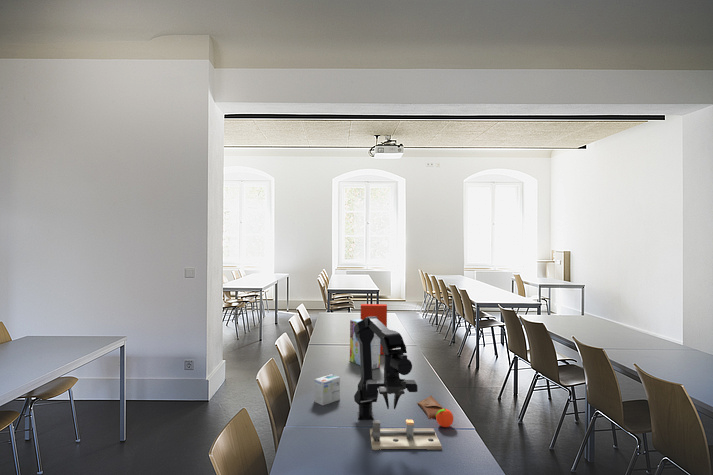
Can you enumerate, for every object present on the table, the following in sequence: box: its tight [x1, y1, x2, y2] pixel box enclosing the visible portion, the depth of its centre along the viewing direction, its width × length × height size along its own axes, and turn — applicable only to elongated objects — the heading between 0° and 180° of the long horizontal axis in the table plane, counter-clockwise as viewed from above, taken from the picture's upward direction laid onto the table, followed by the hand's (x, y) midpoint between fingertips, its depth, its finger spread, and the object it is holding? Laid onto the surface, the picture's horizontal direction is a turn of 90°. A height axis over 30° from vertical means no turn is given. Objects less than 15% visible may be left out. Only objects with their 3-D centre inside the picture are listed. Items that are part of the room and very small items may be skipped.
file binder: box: [360, 303, 388, 356], centre depth 273 cm, size 8×17×32 cm, turn 88°
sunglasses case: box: [416, 394, 444, 420], centre depth 181 cm, size 18×7×7 cm
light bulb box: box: [314, 373, 341, 406], centre depth 191 cm, size 11×7×11 cm, turn 135°
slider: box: [405, 419, 415, 440], centre depth 153 cm, size 4×3×6 cm, turn 1°
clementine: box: [435, 408, 454, 428], centre depth 165 cm, size 8×7×7 cm
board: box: [369, 419, 443, 451], centre depth 154 cm, size 14×25×7 cm, turn 92°
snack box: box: [349, 318, 381, 370], centre depth 248 cm, size 22×9×26 cm, turn 34°
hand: (391, 408), depth 153 cm, fingers open, 2 cm apart
